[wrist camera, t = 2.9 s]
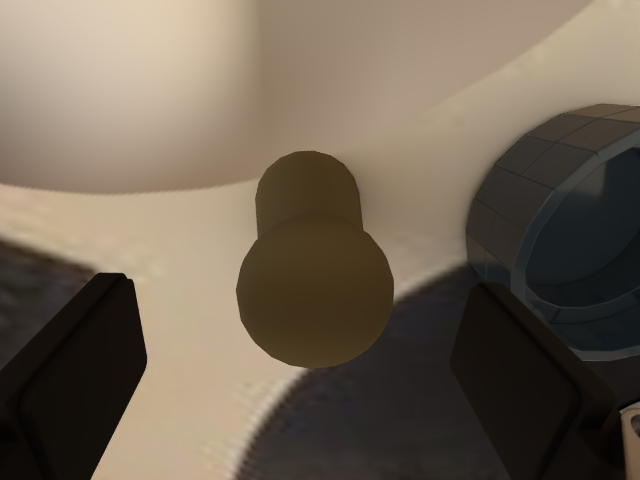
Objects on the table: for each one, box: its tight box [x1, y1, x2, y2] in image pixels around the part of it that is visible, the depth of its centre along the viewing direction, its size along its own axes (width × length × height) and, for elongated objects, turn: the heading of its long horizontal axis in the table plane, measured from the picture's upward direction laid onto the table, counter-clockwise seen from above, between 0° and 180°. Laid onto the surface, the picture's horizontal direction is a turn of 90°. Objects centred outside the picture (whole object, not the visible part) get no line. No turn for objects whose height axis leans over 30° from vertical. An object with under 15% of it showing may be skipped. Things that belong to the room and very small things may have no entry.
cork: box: [236, 151, 394, 368], centre depth 15 cm, size 6×6×11 cm
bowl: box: [466, 104, 640, 361], centre depth 19 cm, size 13×13×6 cm
